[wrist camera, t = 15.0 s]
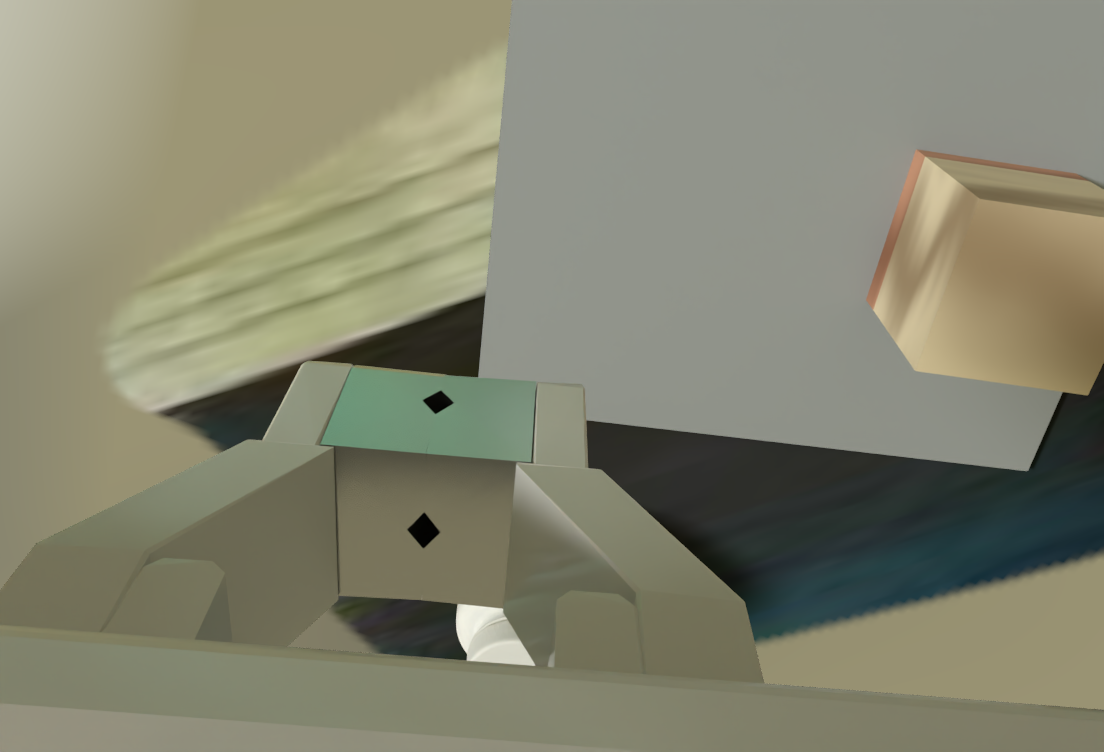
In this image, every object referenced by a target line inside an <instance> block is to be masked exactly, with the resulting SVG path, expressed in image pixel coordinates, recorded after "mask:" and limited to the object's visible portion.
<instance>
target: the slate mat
mask: <svg viewBox="0 0 1104 752" xmlns="http://www.w3.org/2000/svg"><path fill="white" fill-rule="evenodd" d="M916 149H917V150H924V151H931V152H937V153H944V154H951V155H957V156H964V157H970V158H977V159H984V160H990V161H997V162H1003V163H1010V164H1017V165H1023V166H1030V167H1037V168H1043V169H1050V170H1056V171H1063V172H1070V173H1076V174H1078V175H1079V176H1081V177H1083V178H1085V179H1086V180H1088V181H1090V182H1092V183H1093V184H1095V185H1097V186H1099V187H1100V188H1102V189H1104V0H512V7H511V19H510V30H509V41H508V52H507V63H506V74H505V85H504V97H503V108H502V119H501V130H500V141H499V153H498V164H497V175H496V186H495V197H494V209H493V220H492V231H491V242H490V253H489V264H488V276H487V287H486V298H485V309H484V320H483V332H482V343H481V354H480V365H479V376H478V378H493V379H509V380H524V381H536V386H537V382H550V383H572V384H582V385H583V386H584V387H585V403H586V420H590V421H599V422H607V423H616V424H625V425H633V426H642V427H651V428H659V429H668V430H676V431H685V432H694V433H702V434H711V435H720V436H728V437H737V438H746V439H754V440H763V441H771V442H780V443H789V444H797V445H806V446H815V447H823V448H832V449H841V450H849V451H858V452H866V453H875V454H884V455H892V456H901V457H910V458H918V459H927V460H935V461H944V462H953V463H961V464H970V465H979V466H987V467H996V468H1005V469H1013V470H1022V471H1028V470H1029V468H1030V465H1031V463H1032V461H1033V458H1034V456H1035V454H1036V452H1037V449H1038V447H1039V445H1040V443H1041V440H1042V438H1043V436H1044V433H1045V431H1046V429H1047V427H1048V424H1049V422H1050V420H1051V418H1052V415H1053V413H1054V411H1055V408H1056V406H1057V404H1058V402H1059V399H1060V397H1061V395H1062V393H1063V392H1060V391H1053V390H1046V389H1039V388H1032V387H1025V386H1018V385H1010V384H1003V383H996V382H989V381H982V380H975V379H968V378H961V377H954V376H947V375H940V374H932V373H925V372H918V371H915V370H914V369H913V367H912V366H911V364H910V363H909V361H908V360H907V359H906V357H905V356H904V354H903V353H902V351H901V350H900V348H899V347H898V345H897V344H896V343H895V341H894V340H893V338H892V337H891V335H890V334H889V332H888V331H887V330H886V328H885V327H884V325H883V324H882V322H881V321H880V319H879V318H878V317H877V315H876V314H875V312H874V311H873V309H872V308H871V306H870V305H869V304H868V302H867V301H866V298H867V295H868V292H869V289H870V286H871V283H872V280H873V277H874V274H875V271H876V268H877V265H878V262H879V259H880V256H881V253H882V250H883V247H884V244H885V241H886V238H887V235H888V232H889V229H890V226H891V223H892V220H893V217H894V214H895V211H896V208H897V205H898V202H899V199H900V196H901V193H902V190H903V187H904V184H905V181H906V178H907V175H908V172H909V169H910V166H911V163H912V160H913V157H914V154H915V151H916Z"/></svg>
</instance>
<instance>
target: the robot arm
mask: <svg viewBox="0 0 1104 752" xmlns="http://www.w3.org/2000/svg"><path fill="white" fill-rule="evenodd" d="M338 596H356V597H375V598H394V599H413V600H426V601H436V602H445V603H455V604H464V605H473V606H483V607H492V608H502V609H503V613H504V615H505V616H506V618H507V620H508V621H509V623H510V625H511V626H512V628H513V629H514V631H515V633H516V634H517V636H518V638H519V639H520V641H521V643H522V644H523V646H524V648H525V649H526V651H527V652H528V654H529V656H530V657H531V659H532V661H533V662H534V664H535V666H530V665H517V664H504V663H491V662H478V661H465V660H452V659H439V658H426V657H414V656H401V655H388V654H375V653H362V652H349V651H336V650H323V649H310V648H297V647H287V646H288V645H289V644H291V642H293V641H294V640H295V639H296V638H297V637H298V636H299V635H300V634H301V633H302V632H304V631H305V630H306V629H307V628H308V627H309V626H310V625H311V624H312V623H313V622H315V621H316V620H317V619H318V618H319V617H320V616H321V615H322V614H323V613H324V612H326V611H327V610H328V609H329V608H330V607H331V606H332V605H333V604H334V603H335V602H337V601H338ZM0 752H1104V710H1098V709H1085V708H1073V707H1060V706H1046V705H1035V704H1022V703H1009V702H996V701H982V700H970V699H958V698H945V697H932V696H920V695H906V694H893V693H881V692H868V691H855V690H842V689H829V688H828V689H827V688H816V687H803V686H790V685H775V684H764V680H763V676H762V672H761V668H760V664H759V659H758V655H757V651H756V647H755V642H754V638H753V634H752V630H751V626H750V621H749V617H748V613H747V609H746V605H745V602H744V601H743V600H742V599H741V598H740V597H739V596H738V595H737V594H736V593H735V592H734V591H733V590H731V589H730V588H729V587H728V586H727V585H726V584H725V583H724V582H723V581H722V580H721V579H719V578H718V577H717V576H716V575H715V574H714V573H713V572H712V571H711V570H710V569H709V568H708V567H706V566H705V565H704V564H703V563H702V562H701V561H700V560H699V559H698V558H697V557H696V556H694V555H693V554H692V553H691V552H690V551H689V550H688V549H687V548H686V547H685V546H684V545H683V544H681V543H680V542H679V541H678V540H677V539H676V538H675V537H674V536H673V535H672V534H671V533H669V532H668V531H667V530H666V529H665V528H664V527H663V526H662V525H661V524H660V523H659V522H657V521H656V520H655V519H654V518H653V517H652V516H651V515H650V514H649V513H648V512H647V511H646V510H644V509H643V508H642V507H641V506H640V505H639V504H638V503H637V502H636V501H635V500H634V499H632V498H631V497H630V496H629V495H628V494H627V493H626V492H625V491H624V490H623V489H622V488H621V487H619V486H618V485H617V484H616V483H615V482H614V481H613V480H612V479H611V478H610V477H609V476H607V475H606V474H605V473H604V472H603V471H602V470H600V469H589V468H588V454H587V429H586V403H585V387H584V386H583V385H582V384H572V383H550V382H537V386H536V381H524V380H509V379H493V378H478V377H462V376H447V375H443V374H434V373H425V372H415V371H406V370H397V369H387V368H378V367H369V366H359V365H356V366H353V365H352V364H347V363H332V362H317V361H308V362H304V363H303V364H302V365H301V367H300V369H299V371H298V373H297V375H296V376H295V378H294V380H293V382H292V384H291V386H290V388H289V390H288V392H287V394H286V396H285V398H284V399H283V401H282V403H281V405H280V407H279V409H278V411H277V413H276V415H275V417H274V419H273V421H272V422H271V424H270V426H269V428H268V430H267V432H266V434H265V436H264V438H263V440H262V441H261V440H246V441H244V442H242V443H240V444H238V445H236V446H234V447H232V448H230V449H228V450H226V451H224V452H222V453H220V454H218V455H216V456H214V457H211V458H209V459H207V460H206V461H204V462H201V463H199V464H197V465H195V466H193V467H191V468H189V469H187V470H185V471H183V472H181V473H179V474H177V475H175V476H173V477H171V478H169V479H167V480H165V481H163V482H160V483H159V484H156V485H154V486H152V487H150V488H148V489H146V490H144V491H143V492H140V493H138V494H136V495H134V496H132V497H130V498H128V499H126V500H124V501H122V502H120V503H118V504H116V505H114V506H112V507H110V508H108V509H105V510H104V511H101V512H99V513H97V514H95V515H93V516H91V517H89V518H87V519H85V520H83V521H81V522H79V523H77V524H75V525H73V526H71V527H69V528H67V529H65V530H63V531H61V532H58V533H56V534H54V535H53V536H51V537H48V538H46V539H44V540H42V541H40V542H38V543H36V545H35V546H34V547H33V548H32V550H31V551H30V552H29V554H28V555H27V556H26V557H25V559H24V560H23V561H22V563H21V564H20V565H19V566H18V568H17V569H16V570H15V572H14V573H13V574H12V575H11V577H10V578H9V579H8V581H7V582H6V583H5V584H4V586H3V587H2V588H1V590H0Z"/></svg>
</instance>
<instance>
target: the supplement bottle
mask: <svg viewBox="0 0 1104 752" xmlns="http://www.w3.org/2000/svg"><path fill="white" fill-rule="evenodd" d="M456 629H457V634H458V638H459V641H460V643H461V645H462V647H463V648H464V650H465V652H466V653H467V661H478V662H491V663H504V664H517V665H530V666H535V664H534V662H533V661H532V659H531V657H530V656H529V654H528V652H527V651H526V649H525V648H524V646H523V644H522V643H521V641H520V639H519V638H518V636H517V634H516V633H515V631H514V629H513V628H512V626H511V625H510V623H509V621H508V620H507V618H506V616H505V615H504V613H503V609H502V608H492V607H483V606H473V605H464V604H458V606H457V615H456Z"/></svg>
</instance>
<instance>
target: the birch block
mask: <svg viewBox="0 0 1104 752" xmlns="http://www.w3.org/2000/svg"><path fill="white" fill-rule="evenodd" d="M866 301H867V302H868V304H869V305H870V306H871V308H872V309H873V311H874V312H875V314H876V315H877V317H878V318H879V319H880V321H881V322H882V324H883V325H884V327H885V328H886V330H887V331H888V332H889V334H890V335H891V337H892V338H893V340H894V341H895V343H896V344H897V345H898V347H899V348H900V350H901V351H902V353H903V354H904V356H905V357H906V359H907V360H908V361H909V363H910V364H911V366H912V367H913V369H914V370H915V371H918V372H925V373H932V374H940V375H947V376H954V377H961V378H968V379H975V380H982V381H989V382H996V383H1003V384H1010V385H1018V386H1025V387H1032V388H1039V389H1046V390H1053V391H1060V392H1067V393H1074V394H1081V395H1088V394H1089V392H1090V390H1091V388H1092V386H1093V384H1094V382H1095V380H1096V378H1097V376H1098V373H1099V371H1100V369H1101V367H1102V365H1103V363H1104V189H1102V188H1100V187H1099V186H1097V185H1095V184H1093V183H1092V182H1090V181H1088V180H1086V179H1085V178H1083V177H1081V176H1079V175H1078V174H1076V173H1070V172H1063V171H1056V170H1050V169H1043V168H1037V167H1030V166H1023V165H1017V164H1010V163H1003V162H997V161H990V160H984V159H977V158H970V157H964V156H957V155H951V154H944V153H937V152H931V151H924V150H917V149H916V151H915V154H914V157H913V160H912V163H911V166H910V169H909V172H908V175H907V178H906V181H905V184H904V187H903V190H902V193H901V196H900V199H899V202H898V205H897V208H896V211H895V214H894V217H893V220H892V223H891V226H890V229H889V232H888V235H887V238H886V241H885V244H884V247H883V250H882V253H881V256H880V259H879V262H878V265H877V268H876V271H875V274H874V277H873V280H872V283H871V286H870V289H869V292H868V295H867V298H866Z"/></svg>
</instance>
